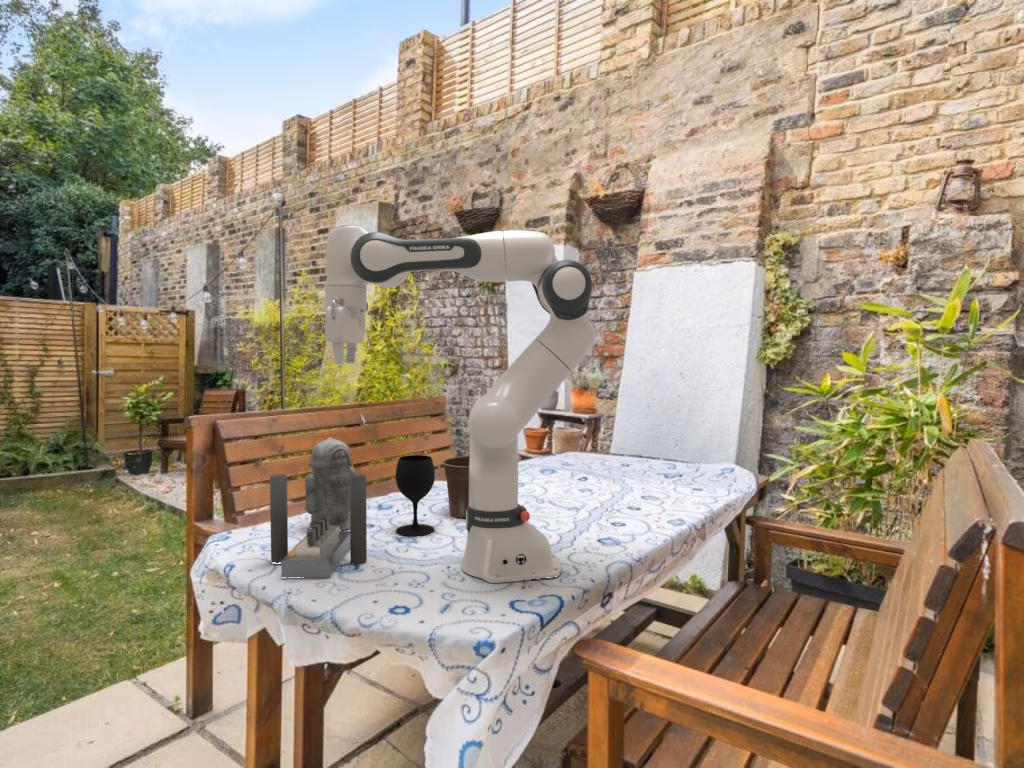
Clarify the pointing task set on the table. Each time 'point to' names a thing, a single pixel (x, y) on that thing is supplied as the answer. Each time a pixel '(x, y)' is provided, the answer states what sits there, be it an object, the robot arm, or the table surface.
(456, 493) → the plant pot
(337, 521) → the figurine
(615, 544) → the table surface
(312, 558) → the breaker panel
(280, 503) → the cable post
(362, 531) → the disc
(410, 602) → the table surface
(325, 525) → the breaker paddles
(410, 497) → the wine glass
